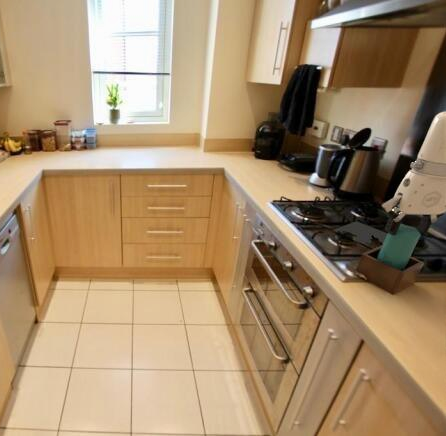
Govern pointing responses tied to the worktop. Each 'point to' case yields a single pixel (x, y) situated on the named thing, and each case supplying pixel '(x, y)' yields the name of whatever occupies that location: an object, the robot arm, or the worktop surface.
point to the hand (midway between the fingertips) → (404, 232)
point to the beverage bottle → (401, 243)
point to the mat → (363, 232)
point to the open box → (388, 272)
